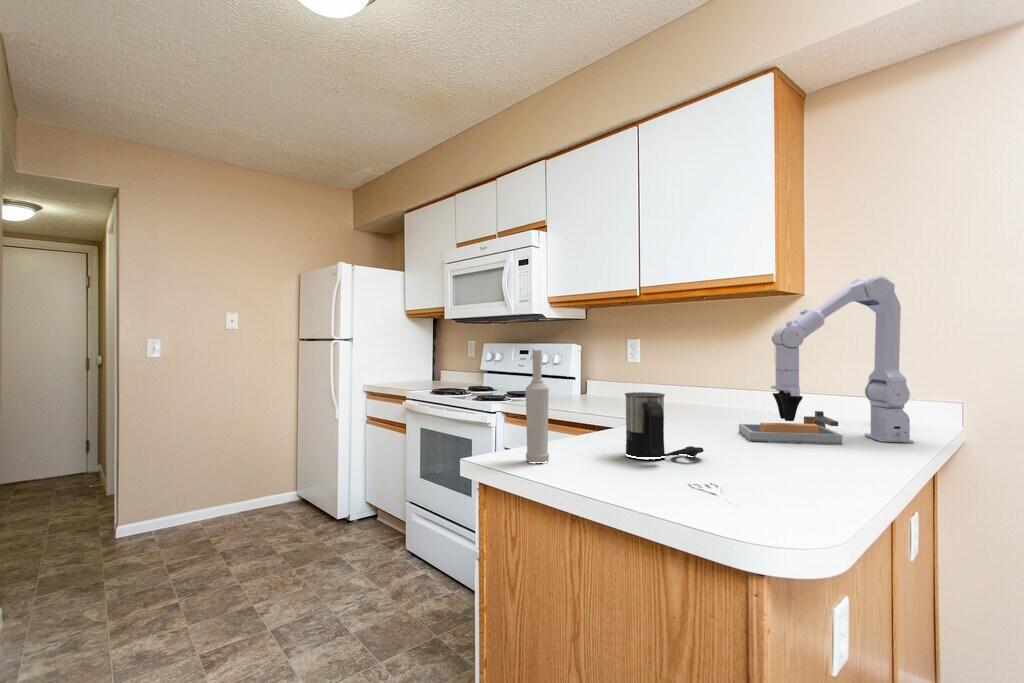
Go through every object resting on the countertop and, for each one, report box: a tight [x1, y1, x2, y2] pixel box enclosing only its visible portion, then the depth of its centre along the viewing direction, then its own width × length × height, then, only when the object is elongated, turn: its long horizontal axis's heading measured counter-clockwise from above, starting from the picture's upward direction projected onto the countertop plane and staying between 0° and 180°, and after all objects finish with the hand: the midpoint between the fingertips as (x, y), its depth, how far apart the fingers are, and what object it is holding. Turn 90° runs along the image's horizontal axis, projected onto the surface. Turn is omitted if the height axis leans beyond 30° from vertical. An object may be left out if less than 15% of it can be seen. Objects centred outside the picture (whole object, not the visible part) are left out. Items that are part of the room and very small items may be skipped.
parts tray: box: [738, 423, 843, 445], centre depth 144 cm, size 14×22×2 cm, turn 78°
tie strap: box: [814, 410, 839, 427], centre depth 148 cm, size 12×2×2 cm, turn 168°
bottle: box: [525, 349, 550, 462], centre depth 118 cm, size 5×5×25 cm
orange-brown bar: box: [760, 422, 819, 434], centre depth 145 cm, size 4×14×3 cm, turn 79°
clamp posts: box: [803, 415, 826, 428], centre depth 157 cm, size 9×3×3 cm, turn 168°
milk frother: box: [624, 391, 705, 457], centre depth 121 cm, size 14×16×15 cm
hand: (787, 419), depth 144 cm, fingers open, 3 cm apart
